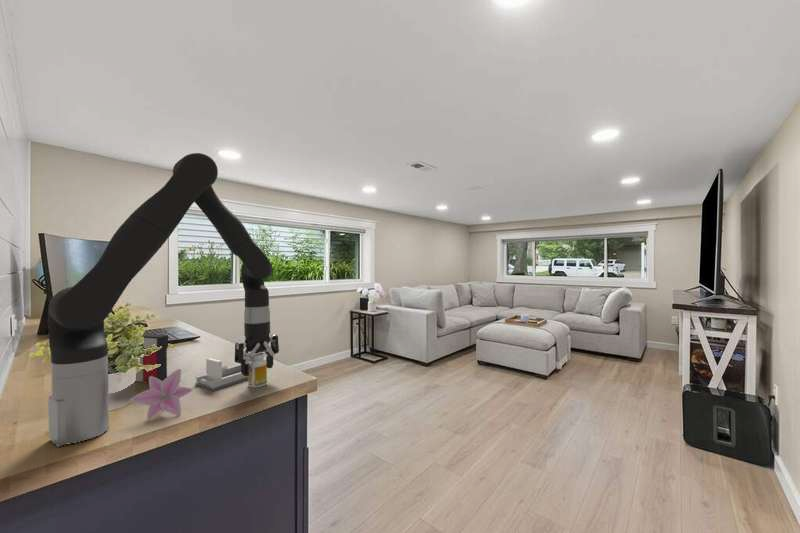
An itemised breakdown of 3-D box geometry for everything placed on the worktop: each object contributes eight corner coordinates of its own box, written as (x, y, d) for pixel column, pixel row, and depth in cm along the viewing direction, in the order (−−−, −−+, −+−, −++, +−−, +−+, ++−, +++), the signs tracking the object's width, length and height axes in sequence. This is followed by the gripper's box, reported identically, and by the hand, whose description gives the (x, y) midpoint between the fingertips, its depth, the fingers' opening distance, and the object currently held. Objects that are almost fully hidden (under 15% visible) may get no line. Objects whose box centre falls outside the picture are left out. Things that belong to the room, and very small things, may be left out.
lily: (122, 423, 84) (122, 395, 80) (155, 388, 94) (157, 362, 91) (172, 435, 85) (174, 409, 81) (199, 399, 96) (202, 374, 92)
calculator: (129, 382, 109) (128, 335, 109) (142, 377, 113) (141, 333, 113) (156, 385, 106) (156, 337, 106) (169, 380, 111) (168, 334, 110)
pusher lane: (213, 390, 102) (213, 372, 102) (195, 384, 107) (195, 367, 107) (262, 374, 116) (262, 358, 116) (244, 369, 121) (244, 354, 121)
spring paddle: (218, 384, 105) (218, 361, 105) (206, 380, 108) (206, 358, 108) (231, 380, 108) (230, 358, 108) (219, 376, 112) (219, 355, 112)
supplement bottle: (270, 382, 109) (269, 352, 109) (261, 388, 104) (261, 356, 104) (254, 381, 110) (253, 351, 109) (244, 387, 104) (244, 356, 104)
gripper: (244, 325, 98) (245, 380, 99) (283, 317, 111) (284, 367, 111) (228, 322, 102) (229, 376, 103) (268, 316, 114) (269, 363, 115)
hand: (258, 371), depth 107 cm, fingers open, 8 cm apart
